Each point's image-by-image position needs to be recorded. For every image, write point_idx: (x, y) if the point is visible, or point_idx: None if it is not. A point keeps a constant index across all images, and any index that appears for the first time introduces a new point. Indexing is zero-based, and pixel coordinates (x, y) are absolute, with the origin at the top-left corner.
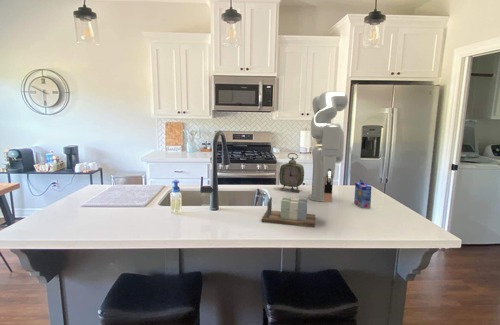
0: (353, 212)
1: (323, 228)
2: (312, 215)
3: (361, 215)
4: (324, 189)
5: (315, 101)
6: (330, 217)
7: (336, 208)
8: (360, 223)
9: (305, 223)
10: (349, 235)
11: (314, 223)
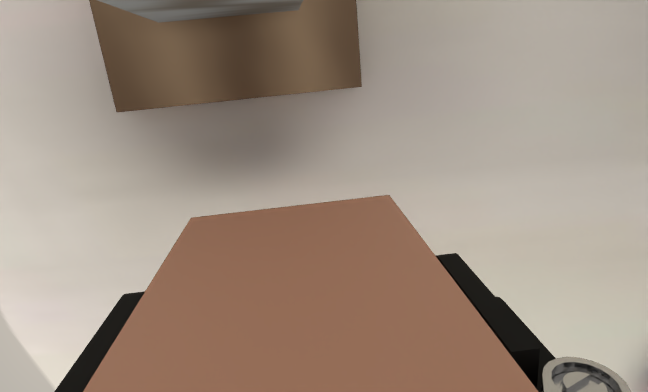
0: (550, 329)
1: (136, 174)
2: (328, 64)
3: None
4: (132, 317)
5: None
6: (399, 198)
7: (620, 220)
8: None
9: (97, 27)
10: None
11: (128, 106)
